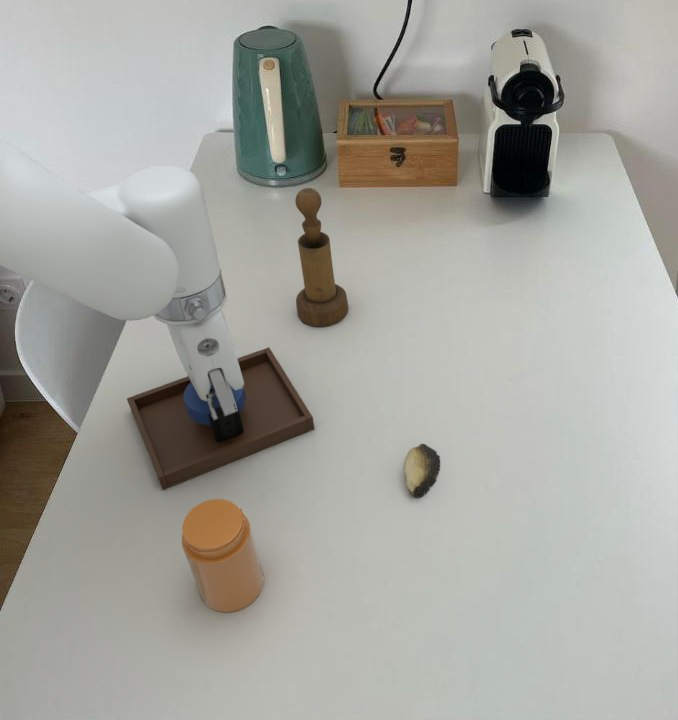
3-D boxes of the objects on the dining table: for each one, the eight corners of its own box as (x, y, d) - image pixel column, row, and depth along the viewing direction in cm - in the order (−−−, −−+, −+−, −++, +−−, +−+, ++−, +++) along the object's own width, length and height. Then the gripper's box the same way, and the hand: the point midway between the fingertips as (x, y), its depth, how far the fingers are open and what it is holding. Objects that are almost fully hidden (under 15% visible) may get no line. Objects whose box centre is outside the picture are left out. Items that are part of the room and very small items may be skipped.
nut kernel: (415, 502, 82) (419, 479, 81) (381, 476, 85) (385, 454, 83) (455, 476, 87) (460, 455, 85) (422, 453, 89) (426, 431, 88)
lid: (243, 380, 93) (241, 368, 92) (248, 419, 89) (245, 406, 87) (186, 389, 92) (182, 377, 91) (187, 429, 88) (184, 417, 86)
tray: (162, 490, 85) (158, 478, 84) (131, 410, 94) (126, 398, 93) (314, 429, 91) (312, 416, 89) (271, 359, 100) (269, 346, 98)
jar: (211, 623, 74) (189, 563, 67) (192, 573, 78) (168, 512, 71) (273, 594, 76) (257, 534, 69) (251, 547, 79) (233, 485, 73)
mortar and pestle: (329, 289, 109) (314, 170, 97) (358, 311, 106) (346, 191, 93) (288, 310, 106) (267, 190, 94) (316, 334, 103) (299, 212, 90)
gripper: (252, 326, 75) (278, 454, 87) (196, 236, 87) (226, 360, 99) (173, 353, 73) (211, 481, 85) (126, 257, 84) (165, 381, 96)
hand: (219, 414), depth 92 cm, fingers closed on lid, 6 cm apart
